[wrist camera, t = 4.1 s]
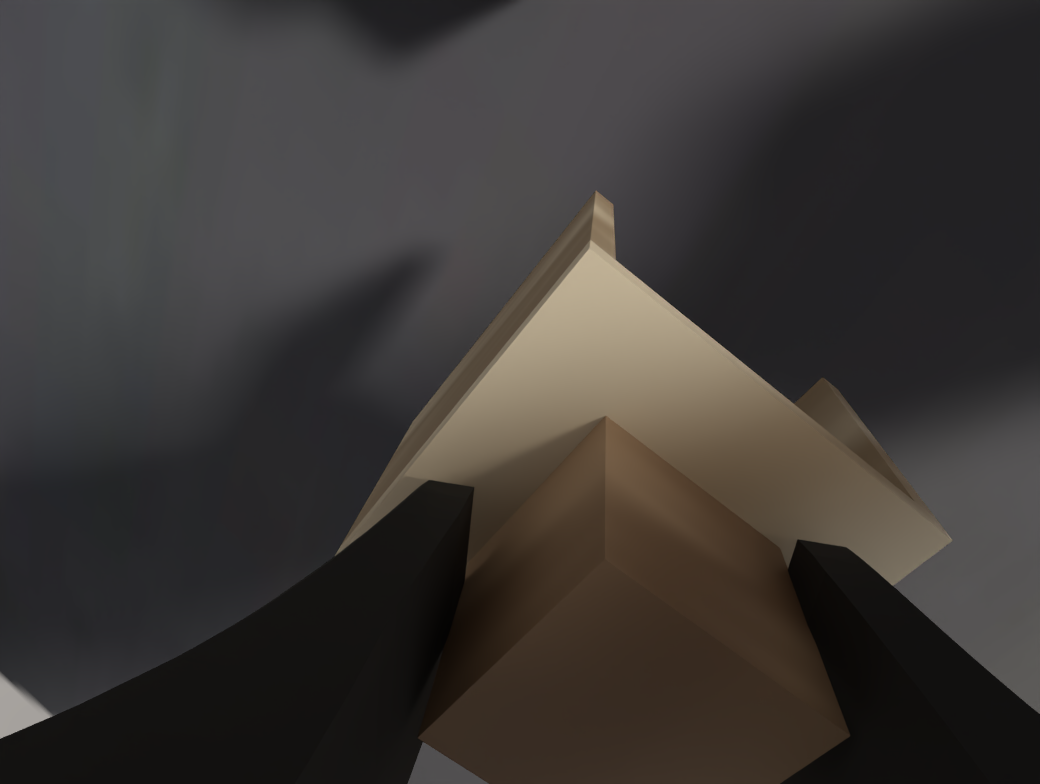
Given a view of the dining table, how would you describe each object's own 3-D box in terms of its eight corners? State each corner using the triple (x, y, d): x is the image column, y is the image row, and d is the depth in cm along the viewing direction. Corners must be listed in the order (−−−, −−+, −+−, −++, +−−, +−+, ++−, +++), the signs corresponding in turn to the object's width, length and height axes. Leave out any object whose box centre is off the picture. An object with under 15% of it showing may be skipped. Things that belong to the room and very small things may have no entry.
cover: (837, 389, 14) (1100, 734, 6) (631, 579, 16) (652, 994, 9) (596, 190, 13) (581, 329, 5) (412, 421, 15) (228, 739, 8)
